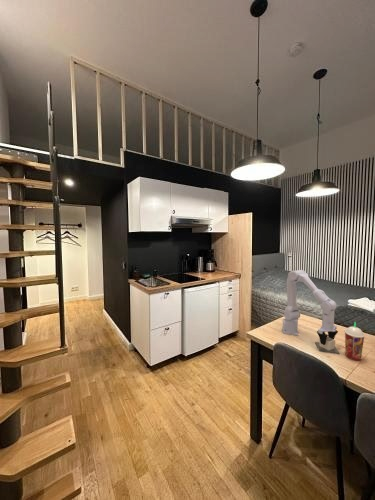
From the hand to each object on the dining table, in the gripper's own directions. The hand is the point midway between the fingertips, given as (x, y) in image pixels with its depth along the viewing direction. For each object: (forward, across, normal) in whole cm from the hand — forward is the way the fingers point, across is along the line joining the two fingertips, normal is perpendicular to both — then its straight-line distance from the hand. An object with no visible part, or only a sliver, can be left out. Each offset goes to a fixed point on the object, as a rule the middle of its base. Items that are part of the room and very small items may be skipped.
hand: (326, 342), depth 125 cm
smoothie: (+3, +4, -12) cm, 13 cm away
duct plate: (+3, 0, 0) cm, 3 cm away
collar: (+3, 0, 0) cm, 3 cm away
